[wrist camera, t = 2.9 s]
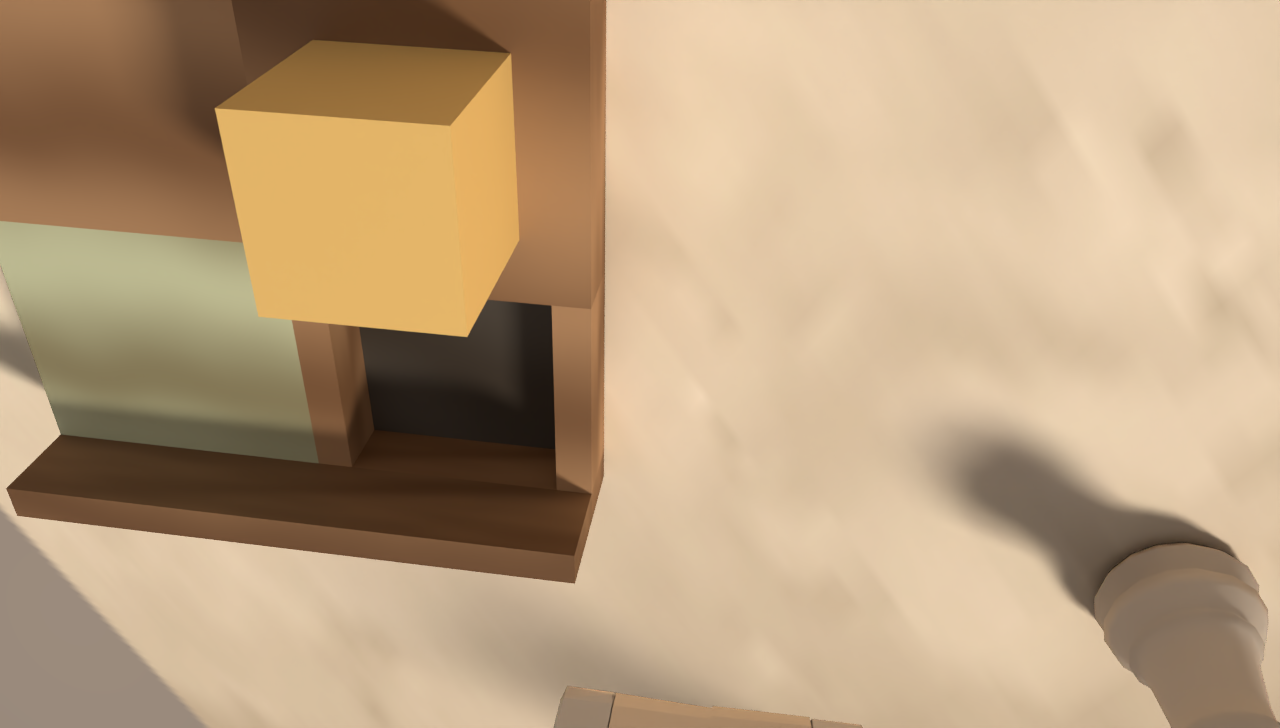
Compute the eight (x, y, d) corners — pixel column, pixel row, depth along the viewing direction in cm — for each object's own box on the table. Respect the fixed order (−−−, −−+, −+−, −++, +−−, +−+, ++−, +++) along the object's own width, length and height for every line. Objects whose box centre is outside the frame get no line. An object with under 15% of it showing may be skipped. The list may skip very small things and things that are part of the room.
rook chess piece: (1058, 583, 31) (1124, 827, 24) (1195, 509, 29) (1309, 754, 22) (1147, 663, 32) (1233, 915, 26) (1285, 597, 30) (1418, 854, 23)
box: (-177, -458, 21) (-395, -491, 17) (608, -447, 19) (557, -480, 15) (107, 421, 33) (17, 515, 29) (603, 476, 31) (574, 583, 27)
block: (312, 39, 23) (214, 107, 19) (510, 53, 22) (449, 125, 19) (340, 224, 25) (258, 316, 22) (519, 240, 25) (467, 336, 21)
